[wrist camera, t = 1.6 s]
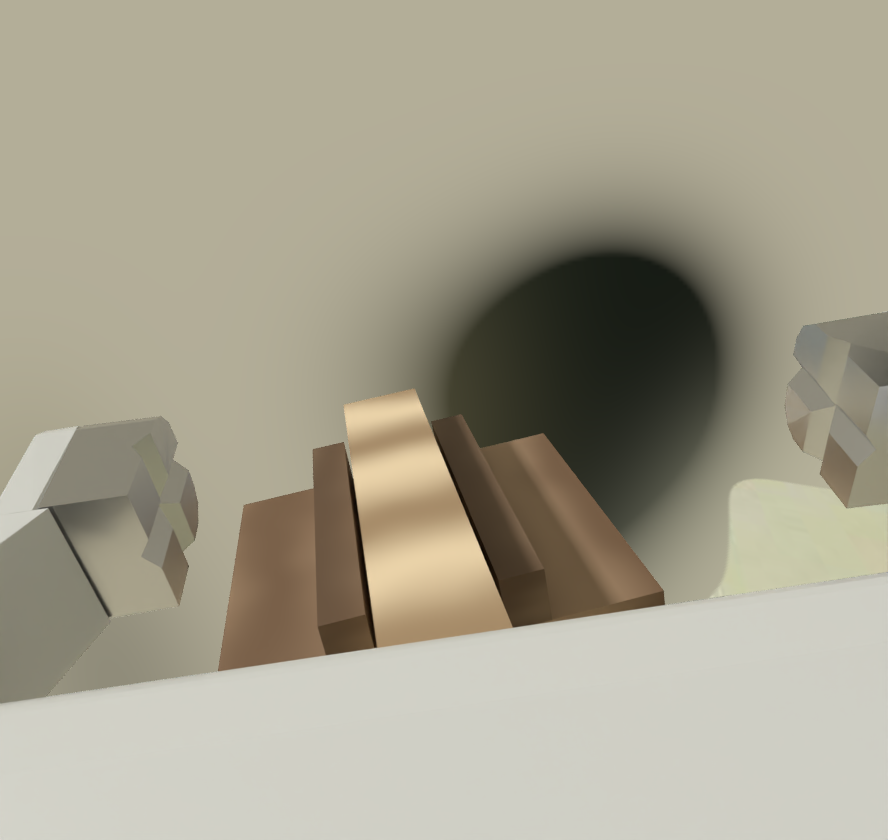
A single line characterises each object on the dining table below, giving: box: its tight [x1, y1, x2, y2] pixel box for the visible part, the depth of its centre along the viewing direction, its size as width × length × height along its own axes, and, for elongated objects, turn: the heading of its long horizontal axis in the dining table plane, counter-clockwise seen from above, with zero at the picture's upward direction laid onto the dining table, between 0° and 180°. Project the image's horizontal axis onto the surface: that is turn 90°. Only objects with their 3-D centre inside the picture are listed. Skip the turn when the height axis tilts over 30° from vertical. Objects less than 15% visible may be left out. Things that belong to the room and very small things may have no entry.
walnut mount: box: [218, 415, 665, 671], centre depth 36 cm, size 15×14×28 cm
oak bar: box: [344, 389, 513, 648], centre depth 27 cm, size 24×4×4 cm, turn 10°
